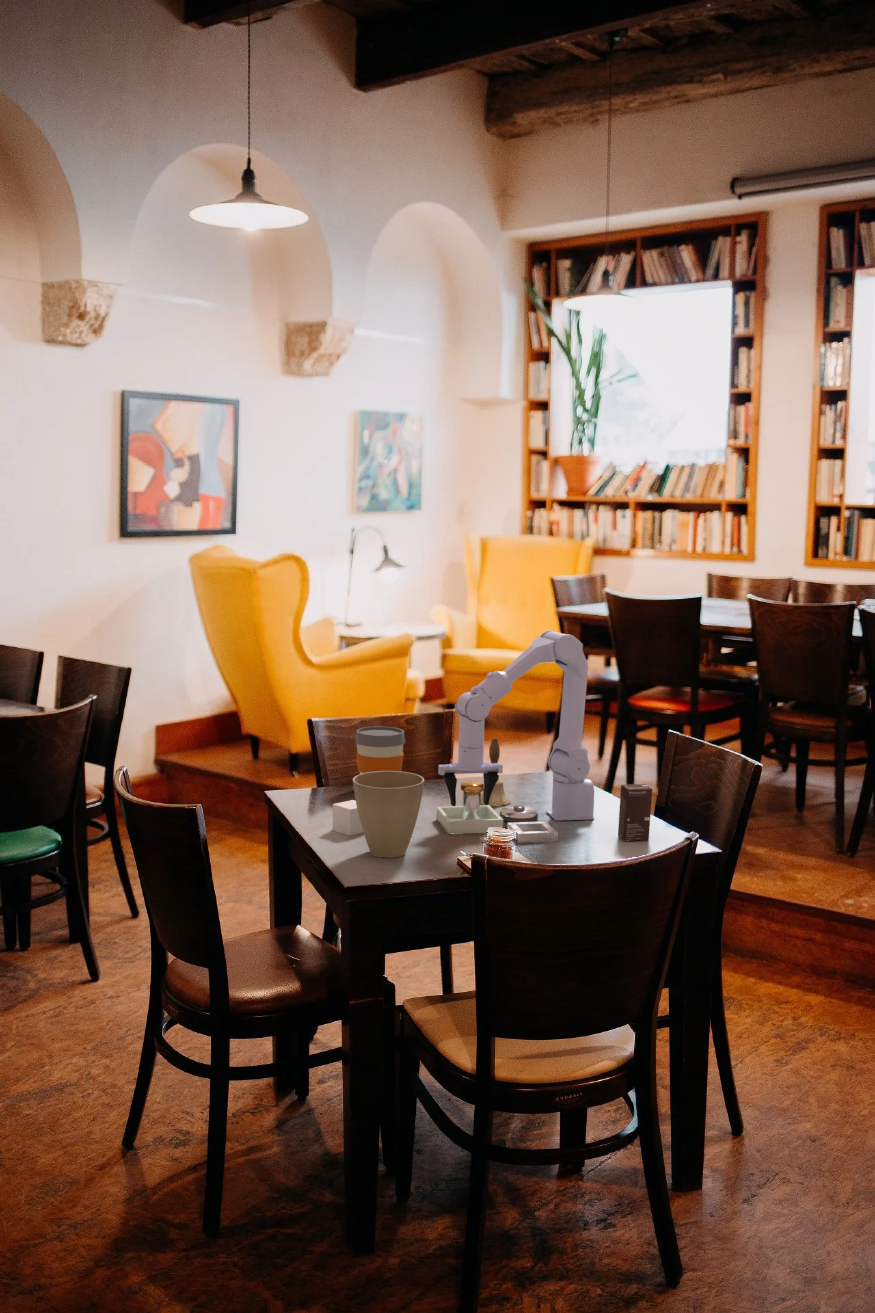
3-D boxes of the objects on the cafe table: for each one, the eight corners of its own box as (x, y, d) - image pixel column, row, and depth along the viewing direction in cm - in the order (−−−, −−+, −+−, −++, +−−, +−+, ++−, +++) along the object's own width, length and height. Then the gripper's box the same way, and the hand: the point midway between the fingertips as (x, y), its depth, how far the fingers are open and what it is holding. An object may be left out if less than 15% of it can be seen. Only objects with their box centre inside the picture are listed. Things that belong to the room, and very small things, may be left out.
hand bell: (470, 803, 300) (472, 739, 298) (487, 796, 307) (489, 733, 305) (499, 808, 295) (501, 743, 293) (516, 801, 302) (518, 738, 300)
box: (624, 842, 269) (627, 789, 267) (617, 836, 273) (619, 784, 272) (650, 841, 270) (653, 788, 269) (642, 835, 275) (645, 783, 273)
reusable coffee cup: (344, 787, 312) (345, 730, 310) (382, 780, 320) (383, 724, 318) (376, 797, 303) (377, 738, 301) (414, 790, 311) (415, 732, 309)
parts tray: (488, 817, 287) (489, 805, 286) (502, 832, 275) (503, 819, 274) (436, 819, 284) (436, 806, 284) (448, 834, 272) (448, 821, 271)
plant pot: (370, 839, 267) (371, 767, 265) (433, 848, 261) (435, 775, 259) (339, 857, 253) (340, 782, 251) (404, 867, 248) (406, 790, 245)
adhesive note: (349, 836, 269) (350, 809, 269) (332, 830, 274) (332, 804, 273) (370, 831, 274) (370, 804, 273) (352, 825, 278) (353, 799, 277)
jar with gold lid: (482, 821, 281) (483, 782, 280) (482, 827, 276) (483, 787, 275) (460, 820, 282) (461, 781, 280) (459, 826, 276) (460, 786, 275)
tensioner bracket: (531, 817, 288) (532, 801, 287) (557, 841, 269) (558, 824, 268) (494, 818, 286) (495, 802, 286) (518, 842, 267) (518, 825, 266)
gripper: (497, 741, 282) (495, 799, 284) (436, 742, 279) (434, 801, 281) (505, 748, 275) (503, 806, 277) (442, 749, 272) (441, 809, 274)
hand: (469, 804), depth 279 cm, fingers open, 7 cm apart
